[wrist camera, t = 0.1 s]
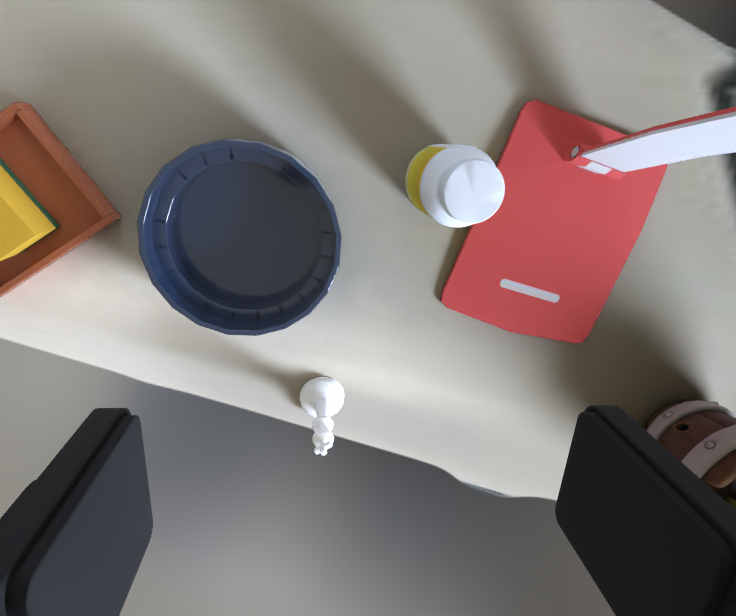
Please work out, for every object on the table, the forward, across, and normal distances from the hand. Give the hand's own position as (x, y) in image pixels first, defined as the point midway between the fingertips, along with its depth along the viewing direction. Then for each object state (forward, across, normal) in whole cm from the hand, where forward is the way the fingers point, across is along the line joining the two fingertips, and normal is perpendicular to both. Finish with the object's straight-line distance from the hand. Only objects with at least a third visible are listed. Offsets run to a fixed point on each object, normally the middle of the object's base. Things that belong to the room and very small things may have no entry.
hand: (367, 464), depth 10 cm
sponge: (+37, +28, +1) cm, 46 cm away
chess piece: (+38, 0, +21) cm, 43 cm away
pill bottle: (+38, -10, -3) cm, 39 cm away
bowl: (+37, +7, +3) cm, 38 cm away
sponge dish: (+37, +28, +1) cm, 47 cm away
